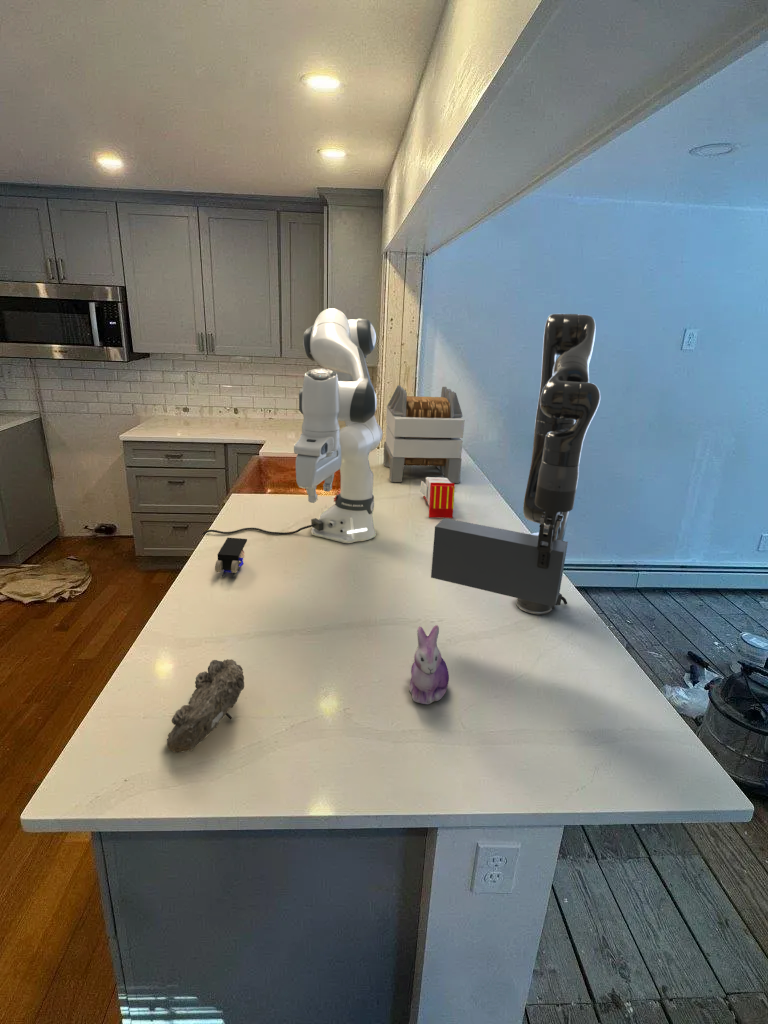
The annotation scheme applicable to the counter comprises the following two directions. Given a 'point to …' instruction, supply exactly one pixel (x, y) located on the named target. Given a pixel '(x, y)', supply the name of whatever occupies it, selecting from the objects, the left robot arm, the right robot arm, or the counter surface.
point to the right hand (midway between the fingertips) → (545, 561)
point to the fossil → (206, 705)
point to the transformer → (424, 433)
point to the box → (496, 561)
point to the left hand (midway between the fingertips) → (320, 496)
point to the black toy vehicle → (230, 556)
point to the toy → (439, 496)
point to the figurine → (428, 669)
